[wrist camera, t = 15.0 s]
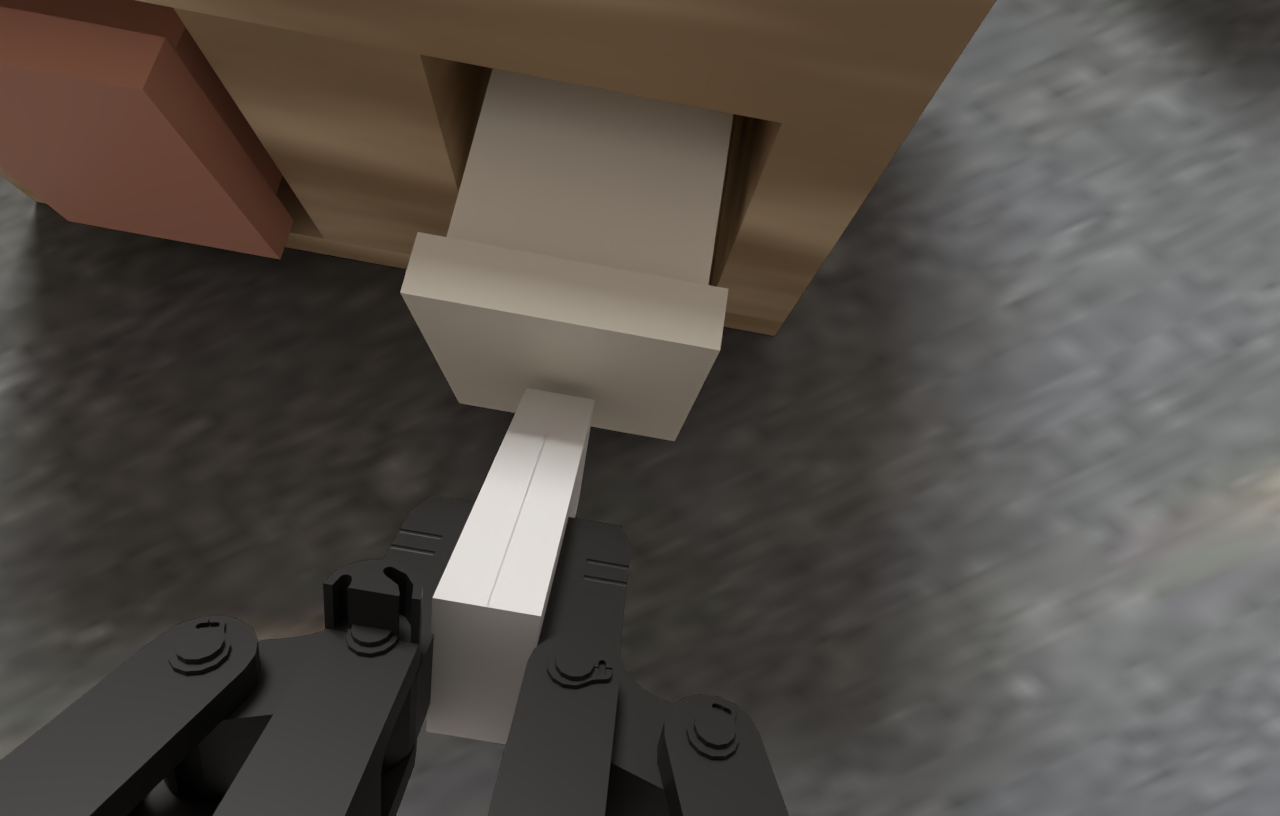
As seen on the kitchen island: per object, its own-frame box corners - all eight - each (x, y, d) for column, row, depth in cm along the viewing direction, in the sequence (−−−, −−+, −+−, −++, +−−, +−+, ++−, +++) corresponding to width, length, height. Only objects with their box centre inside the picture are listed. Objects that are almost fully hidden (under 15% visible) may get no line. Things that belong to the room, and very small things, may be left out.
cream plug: (674, 441, 19) (720, 350, 13) (459, 403, 19) (399, 292, 13) (750, -60, 24) (809, -296, 18) (582, -93, 24) (583, -342, 18)
